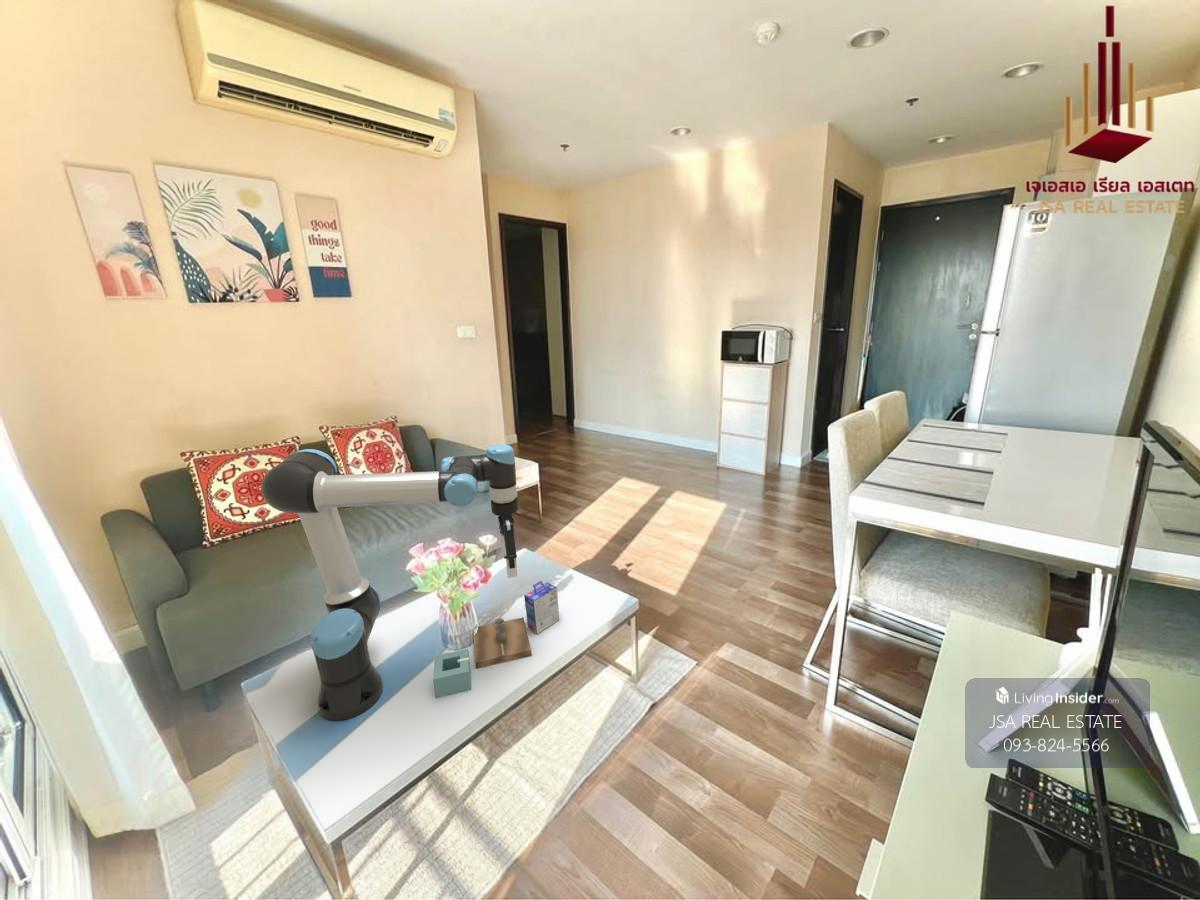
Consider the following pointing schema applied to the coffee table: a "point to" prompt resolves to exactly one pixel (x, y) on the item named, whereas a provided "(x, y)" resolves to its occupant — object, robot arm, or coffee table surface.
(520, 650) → the brown wooden base
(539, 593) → the ink cartridge box
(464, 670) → the gray-green box with recess
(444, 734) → the coffee table surface
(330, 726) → the coffee table surface
